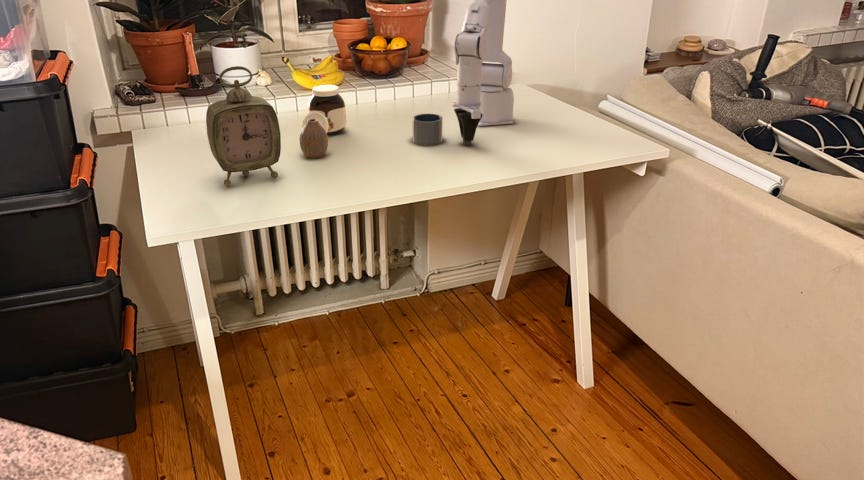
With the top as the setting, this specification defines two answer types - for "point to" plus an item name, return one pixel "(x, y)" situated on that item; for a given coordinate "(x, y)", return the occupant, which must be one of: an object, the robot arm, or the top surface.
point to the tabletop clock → (243, 131)
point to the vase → (313, 139)
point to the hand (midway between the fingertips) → (467, 138)
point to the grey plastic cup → (427, 129)
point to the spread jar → (327, 109)
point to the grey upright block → (466, 142)
